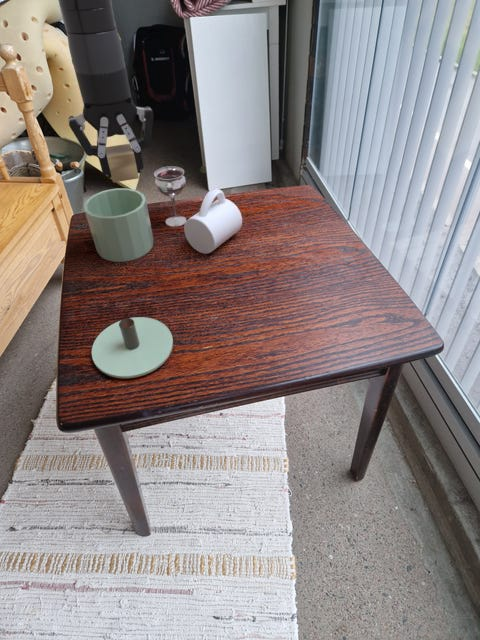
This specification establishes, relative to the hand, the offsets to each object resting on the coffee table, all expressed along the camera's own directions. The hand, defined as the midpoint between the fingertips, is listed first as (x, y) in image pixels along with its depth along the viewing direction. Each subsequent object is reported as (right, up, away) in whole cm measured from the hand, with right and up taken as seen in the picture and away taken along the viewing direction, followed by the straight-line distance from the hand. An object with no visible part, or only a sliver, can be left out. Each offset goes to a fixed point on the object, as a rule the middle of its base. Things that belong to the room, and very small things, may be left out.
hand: (124, 173), depth 75 cm
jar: (-5, -10, +19) cm, 21 cm away
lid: (+3, -31, -4) cm, 31 cm away
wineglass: (+5, -3, +26) cm, 26 cm away
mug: (+15, -9, +19) cm, 26 cm away
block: (0, 0, 0) cm, 0 cm away
